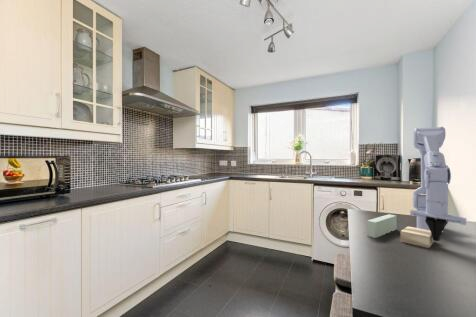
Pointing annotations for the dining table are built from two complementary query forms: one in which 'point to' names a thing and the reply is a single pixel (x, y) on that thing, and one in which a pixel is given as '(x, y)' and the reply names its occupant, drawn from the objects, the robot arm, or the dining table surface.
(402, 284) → the dining table surface
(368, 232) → the sage board
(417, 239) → the maple block
